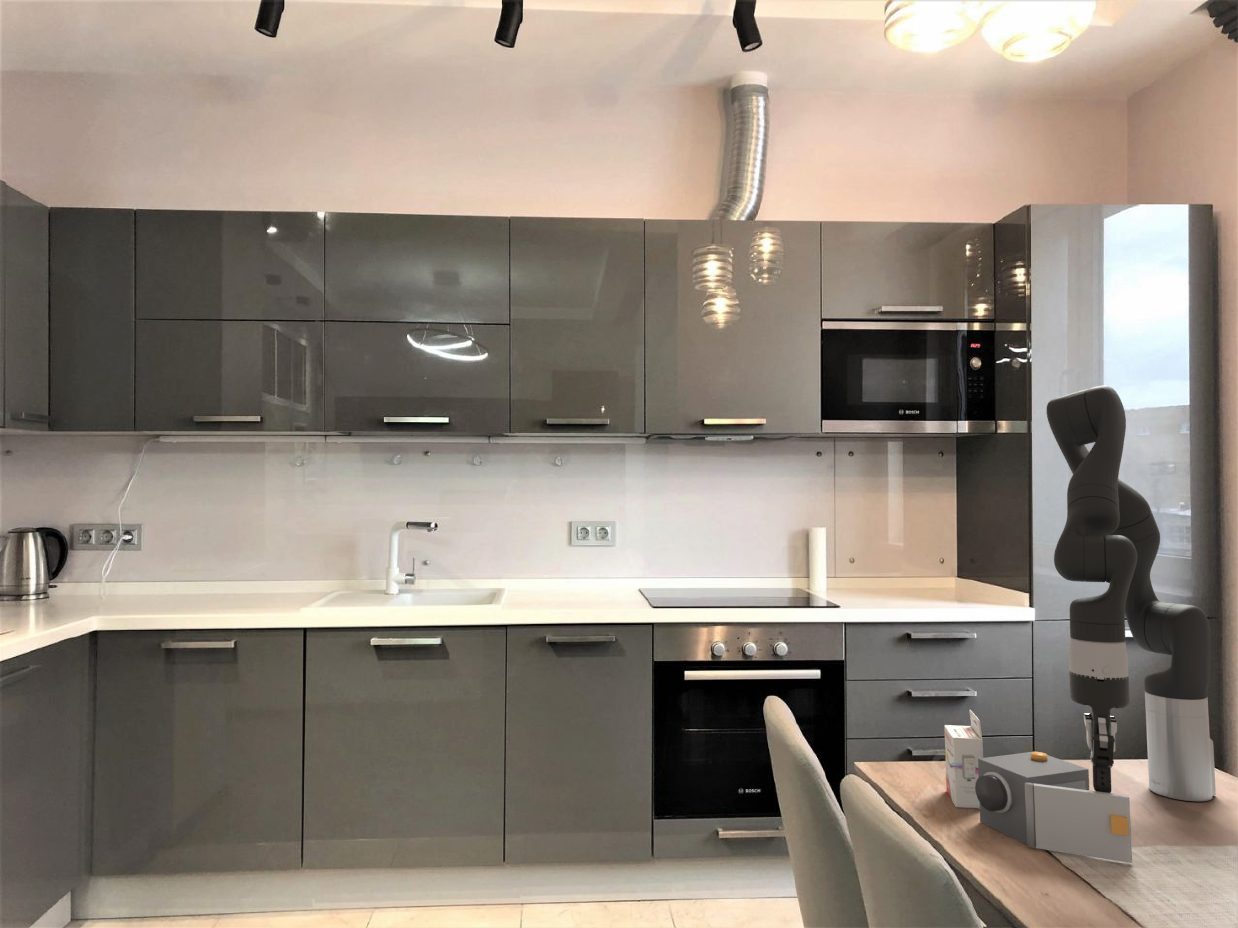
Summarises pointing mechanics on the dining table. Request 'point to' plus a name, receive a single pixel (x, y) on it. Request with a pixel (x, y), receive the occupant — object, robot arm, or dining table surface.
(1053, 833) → the side door
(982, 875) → the dining table surface
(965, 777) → the ink cartridge box
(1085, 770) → the camera body
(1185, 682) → the robot arm
